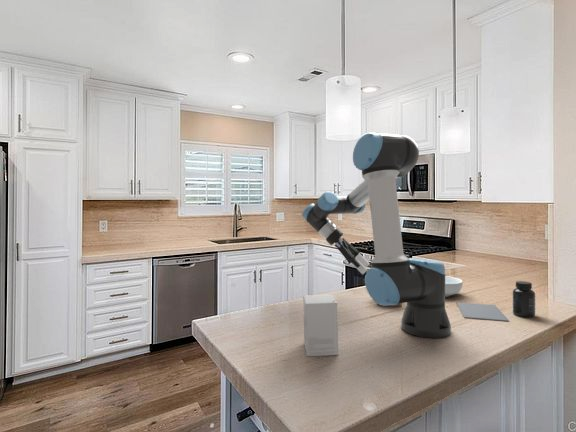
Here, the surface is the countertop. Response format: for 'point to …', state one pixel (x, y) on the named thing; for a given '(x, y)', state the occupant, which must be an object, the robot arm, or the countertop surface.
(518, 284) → the supplement bottle
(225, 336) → the countertop surface
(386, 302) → the robot arm
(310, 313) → the supplement box
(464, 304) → the slate mat
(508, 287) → the countertop surface
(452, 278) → the cereal bowl
